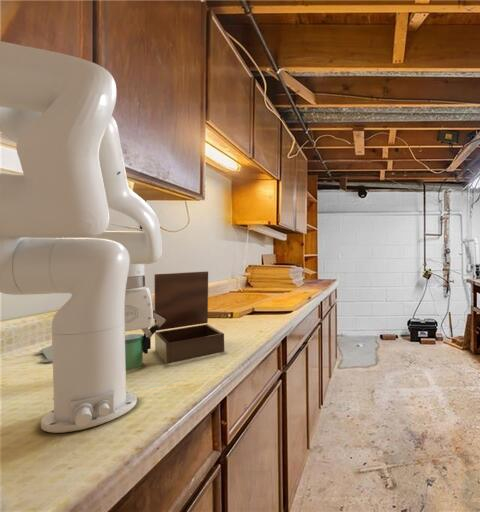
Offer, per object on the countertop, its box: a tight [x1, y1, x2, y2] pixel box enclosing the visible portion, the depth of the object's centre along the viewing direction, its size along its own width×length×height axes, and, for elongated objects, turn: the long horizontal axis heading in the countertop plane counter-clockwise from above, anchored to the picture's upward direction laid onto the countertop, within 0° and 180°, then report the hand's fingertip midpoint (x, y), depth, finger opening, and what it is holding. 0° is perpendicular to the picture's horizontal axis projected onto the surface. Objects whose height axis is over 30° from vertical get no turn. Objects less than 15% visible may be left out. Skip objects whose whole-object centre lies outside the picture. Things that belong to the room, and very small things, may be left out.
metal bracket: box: [35, 344, 53, 364], centre depth 91 cm, size 14×6×15 cm
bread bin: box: [154, 323, 225, 365], centre depth 89 cm, size 16×14×6 cm
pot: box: [125, 333, 144, 371], centre depth 77 cm, size 6×6×8 cm
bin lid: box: [153, 271, 209, 332], centre depth 94 cm, size 16×14×1 cm
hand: (127, 355), depth 77 cm, fingers closed on pot, 6 cm apart
